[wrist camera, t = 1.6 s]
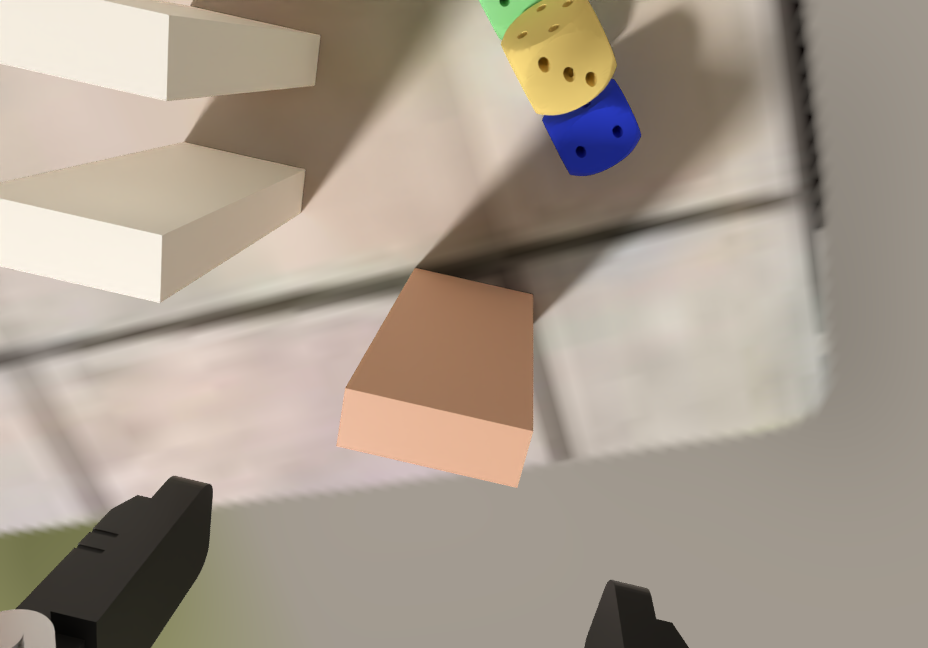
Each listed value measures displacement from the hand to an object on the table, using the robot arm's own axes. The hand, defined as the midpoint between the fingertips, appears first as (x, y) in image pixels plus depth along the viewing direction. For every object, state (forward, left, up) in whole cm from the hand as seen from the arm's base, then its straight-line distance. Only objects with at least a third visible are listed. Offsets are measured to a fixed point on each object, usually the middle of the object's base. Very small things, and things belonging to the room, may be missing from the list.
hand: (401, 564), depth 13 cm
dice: (-10, +1, -16) cm, 19 cm away
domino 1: (-8, -10, -16) cm, 20 cm away
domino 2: (-3, -10, -16) cm, 19 cm away
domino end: (0, 0, -16) cm, 16 cm away
